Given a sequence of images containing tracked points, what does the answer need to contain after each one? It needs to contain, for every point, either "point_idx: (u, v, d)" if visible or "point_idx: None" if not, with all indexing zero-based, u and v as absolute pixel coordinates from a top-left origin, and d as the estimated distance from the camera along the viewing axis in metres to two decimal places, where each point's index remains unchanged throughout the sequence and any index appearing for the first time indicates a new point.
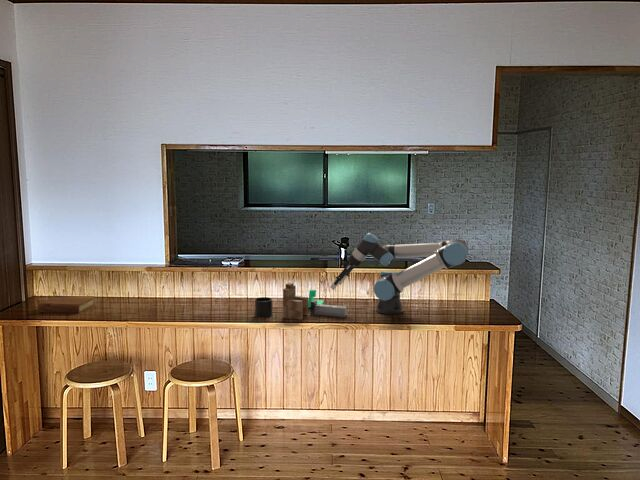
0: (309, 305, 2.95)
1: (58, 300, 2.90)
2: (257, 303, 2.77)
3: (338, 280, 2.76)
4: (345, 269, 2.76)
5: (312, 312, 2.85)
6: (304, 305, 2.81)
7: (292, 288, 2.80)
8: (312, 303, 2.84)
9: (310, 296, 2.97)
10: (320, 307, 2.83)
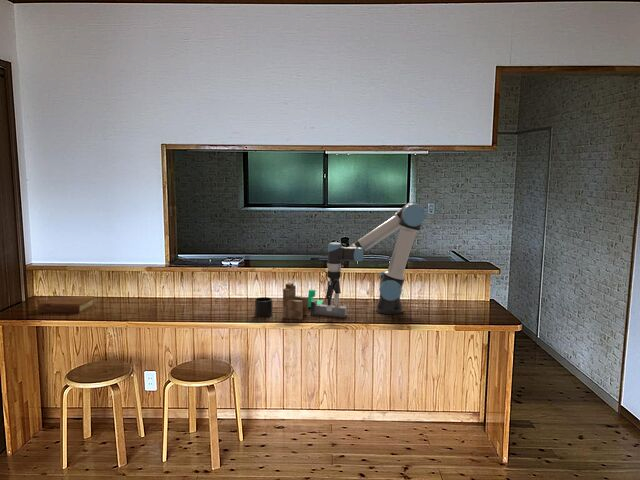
0: (308, 305, 2.95)
1: (58, 300, 2.90)
2: (257, 303, 2.77)
3: (329, 299, 2.73)
4: (329, 286, 2.74)
5: (312, 312, 2.85)
6: (304, 305, 2.81)
7: (292, 288, 2.80)
8: (312, 303, 2.84)
9: (309, 296, 2.97)
10: (320, 307, 2.83)
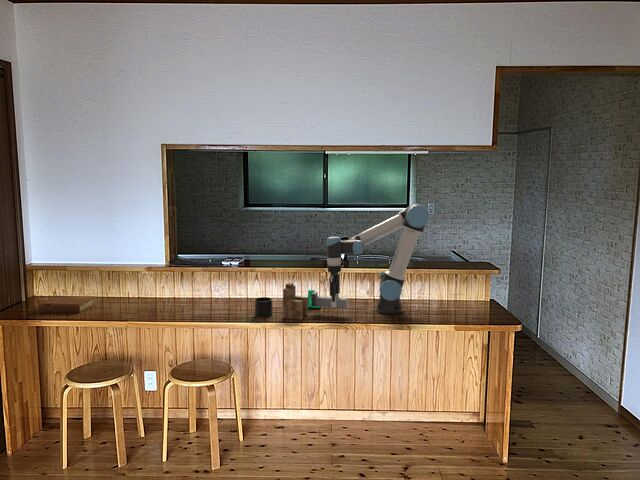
0: (308, 305, 2.95)
1: (58, 300, 2.90)
2: (257, 303, 2.77)
3: (333, 295, 2.77)
4: (330, 283, 2.75)
5: (313, 304, 2.84)
6: (304, 305, 2.81)
7: (292, 288, 2.80)
8: (313, 295, 2.83)
9: (309, 296, 2.97)
10: (321, 299, 2.82)
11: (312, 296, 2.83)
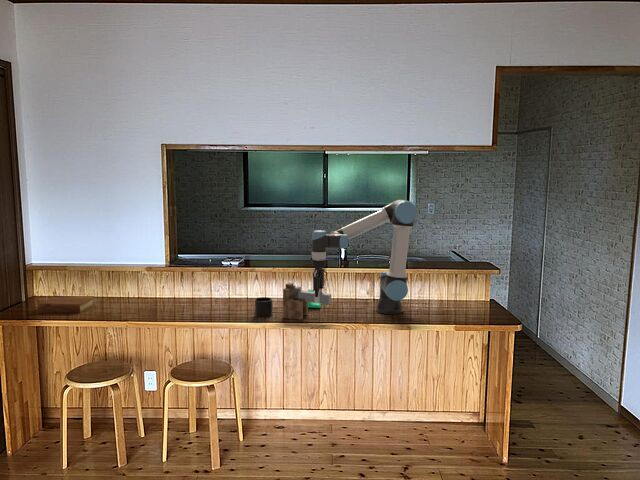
0: None
1: (58, 300, 2.90)
2: (257, 303, 2.77)
3: (316, 291, 2.70)
4: (314, 278, 2.68)
5: (296, 299, 2.77)
6: (304, 305, 2.81)
7: (292, 288, 2.80)
8: (296, 289, 2.76)
9: None
10: (304, 294, 2.75)
11: (295, 290, 2.76)
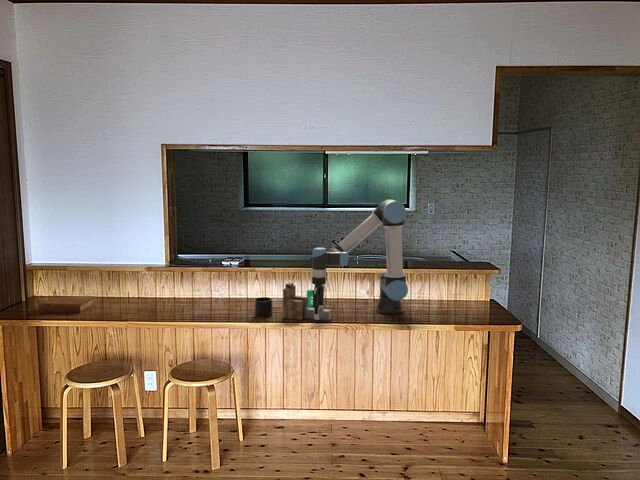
0: None
1: (58, 300, 2.90)
2: (257, 303, 2.77)
3: (316, 308, 2.71)
4: (314, 295, 2.69)
5: None
6: (304, 305, 2.81)
7: (292, 288, 2.80)
8: None
9: (308, 296, 2.97)
10: (303, 310, 2.76)
11: None
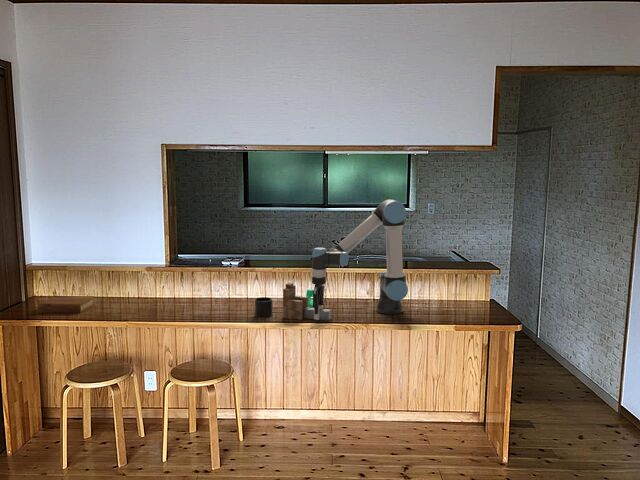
0: None
1: (58, 300, 2.90)
2: (257, 303, 2.77)
3: (316, 308, 2.71)
4: (314, 295, 2.69)
5: None
6: (304, 305, 2.81)
7: (292, 288, 2.80)
8: None
9: (307, 296, 2.97)
10: (304, 310, 2.76)
11: None
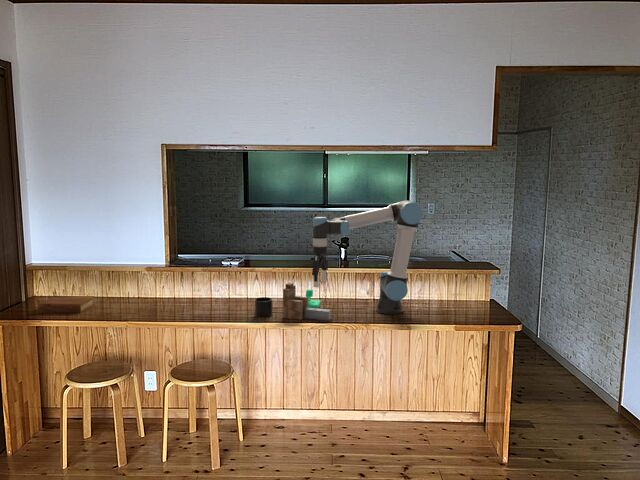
0: None
1: (58, 300, 2.90)
2: (257, 303, 2.77)
3: (315, 275, 2.65)
4: (315, 261, 2.66)
5: None
6: (304, 305, 2.81)
7: (292, 288, 2.80)
8: None
9: (307, 296, 2.97)
10: (304, 310, 2.76)
11: None
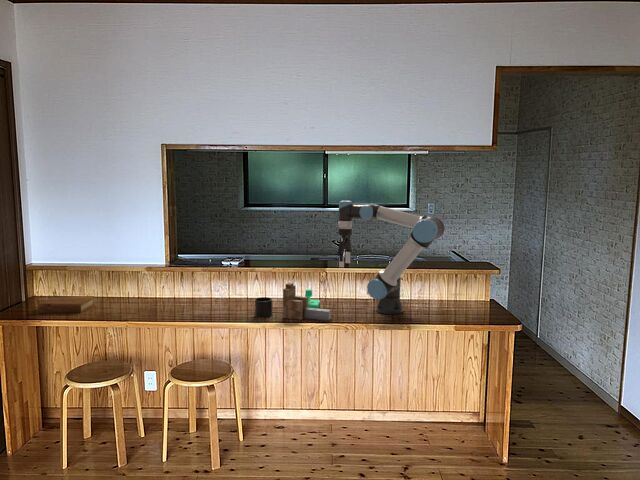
0: None
1: (58, 300, 2.90)
2: (257, 303, 2.77)
3: (341, 255, 2.80)
4: (340, 242, 2.80)
5: None
6: (304, 305, 2.81)
7: (292, 288, 2.80)
8: None
9: (306, 296, 2.97)
10: (304, 310, 2.76)
11: None
